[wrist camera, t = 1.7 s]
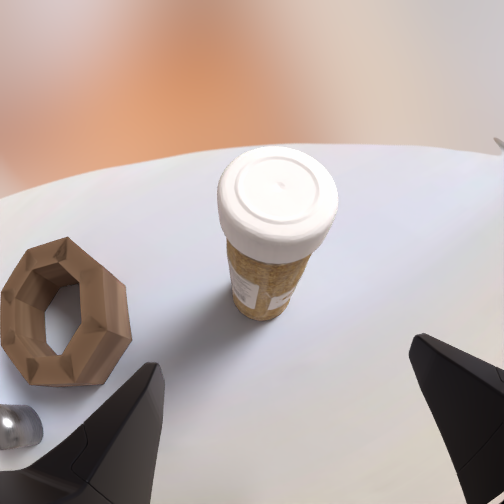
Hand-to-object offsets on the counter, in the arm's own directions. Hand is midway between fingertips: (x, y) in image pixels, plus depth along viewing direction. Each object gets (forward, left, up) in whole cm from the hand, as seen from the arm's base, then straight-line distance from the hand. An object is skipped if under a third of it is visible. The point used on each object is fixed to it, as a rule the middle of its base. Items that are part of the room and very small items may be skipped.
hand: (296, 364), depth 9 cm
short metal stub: (-18, +14, -12) cm, 26 cm away
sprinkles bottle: (+5, +3, -12) cm, 14 cm away
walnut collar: (-6, +15, -12) cm, 21 cm away
